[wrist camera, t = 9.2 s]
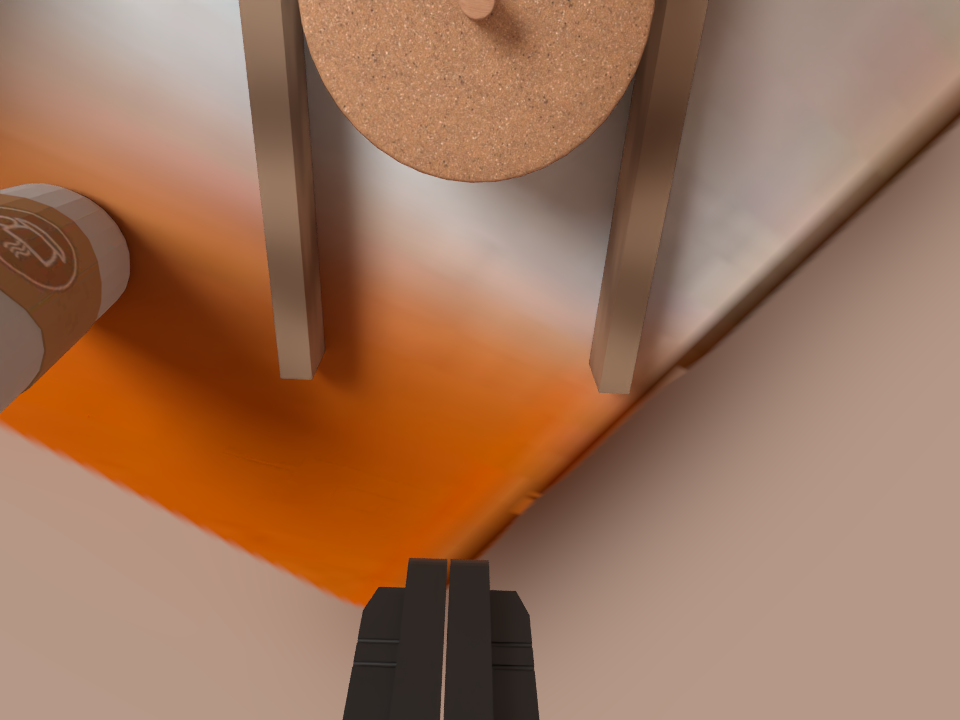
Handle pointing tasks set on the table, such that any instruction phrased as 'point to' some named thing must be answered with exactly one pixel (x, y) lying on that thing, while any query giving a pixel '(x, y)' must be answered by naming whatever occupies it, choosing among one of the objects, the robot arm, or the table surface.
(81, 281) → the coffee cup
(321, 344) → the channel
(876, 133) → the table surface
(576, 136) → the lidded jar
